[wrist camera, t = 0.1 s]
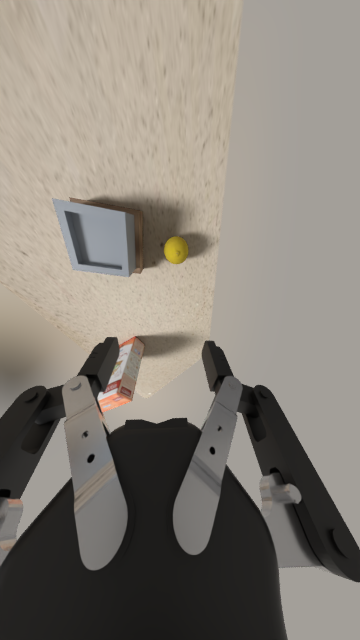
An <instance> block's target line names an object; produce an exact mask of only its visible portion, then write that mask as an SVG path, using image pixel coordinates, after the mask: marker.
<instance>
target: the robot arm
mask: <svg viewBox="0 0 360 640" xmlns="http://www.w3.org/2000/svg"><path fill="white" fill-rule="evenodd" d="M119 353H120V349H119V344H118V340H117V337H107V338H106V339H105V341H104V343H99V344H98V345H97V346H95V347H94V349H93V351H92V352H91V354H90V355H89V358H88V359H87V360H86V362H85V364H84V365H83V367H82V368H81V370H80V372H79V373H78V375H77V376H76V377H73V378H72V379H70V380H68V381H67V382H66V383H65V384H64V385H61V386H57V387H54V388H50V389H46V388H45V387H44V386H35V387H32V388H30V389H28V390H26V391H25V392H23V393H22V394H21V395H20V396H19V397H18V398H17V399H16V400H15V401H14V403H13V404H12V405H11V406H10V407H9V408H8V410H7V411H6V412H5V414H4V415H3V416H2V417H1V418H0V640H288V639H287V634H286V629H285V624H284V618H283V611H282V605H281V596H280V584H279V569H278V568H285V567H311V566H313V567H316V568H319V569H322V570H324V571H327V572H330V573H333V574H336V575H338V576H341V577H344V578H346V579H349V580H352V581H355V582H360V550H359V547H358V545H357V543H356V542H355V540H354V538H353V536H352V534H351V533H350V531H349V529H348V527H347V525H346V524H345V522H344V520H343V518H342V516H341V515H340V513H339V511H338V509H337V508H336V506H335V504H334V502H333V500H332V499H331V497H330V495H329V494H328V492H327V490H326V488H325V486H324V484H323V483H322V481H321V479H320V477H319V475H318V474H317V472H316V470H315V468H314V467H313V465H312V463H311V461H310V459H309V458H308V456H307V454H306V452H305V451H304V449H303V447H302V445H301V443H300V442H299V440H298V438H297V436H296V434H295V433H294V431H293V429H292V427H291V425H290V424H289V422H288V420H287V418H286V417H285V415H284V413H283V411H282V410H281V408H280V406H279V404H278V402H277V400H276V399H275V397H274V395H273V394H272V392H271V391H270V390H269V389H268V388H266V387H265V386H262V385H256V386H255V387H254V388H252V387H249V386H247V385H243V384H241V382H240V381H239V380H238V379H237V378H235V377H234V376H233V373H232V371H231V369H230V366H229V364H228V362H227V359H226V357H225V355H224V352H223V350H222V349H221V348H220V347H217V346H216V345H215V343H214V341H205V343H204V346H203V350H202V360H203V364H204V368H205V371H206V376H207V380H208V384H209V388H210V391H215V398H214V400H213V402H212V405H211V407H210V409H209V411H208V414H207V416H206V418H205V421H204V423H203V425H202V427H201V430H200V429H199V428H197V427H196V426H195V425H193V424H191V423H189V422H187V418H172V419H170V420H167V421H164V422H161V423H158V424H156V423H152V422H149V421H145V420H126V422H125V425H123V426H121V427H119V428H117V429H115V430H114V431H113V432H111V433H110V430H109V428H108V425H107V423H106V421H105V418H104V415H103V412H102V409H101V407H100V404H99V401H98V398H97V397H98V395H99V393H100V392H105V390H106V388H107V385H108V383H109V380H110V378H111V375H112V372H113V370H114V367H115V365H116V362H117V360H118V357H119ZM236 412H240V413H242V415H243V418H244V421H245V424H246V427H247V430H248V433H249V436H250V439H251V442H252V445H253V448H254V451H255V454H256V457H257V460H258V463H259V466H260V469H261V472H262V475H263V477H262V478H261V480H260V493H261V498H262V509H261V512H260V510H259V508H258V507H257V506H256V504H255V503H254V501H253V500H252V499H251V497H250V496H249V495H248V493H247V492H246V490H245V489H244V488H243V487H242V485H241V484H240V482H239V481H238V480H237V478H236V477H235V476H234V474H233V473H232V471H231V470H230V469H229V467H228V466H227V465H226V462H227V457H228V454H229V450H230V445H231V442H232V438H233V433H234V429H235V426H236V422H237V415H236ZM63 417H66V418H67V419H66V421H65V422H64V429H65V435H66V442H67V448H68V454H69V461H70V468H71V474H72V477H71V478H70V480H69V481H68V482H67V483H66V484H65V485H64V486H63V488H62V489H61V490H60V491H59V492H58V493H57V494H56V496H55V497H54V498H53V499H52V500H51V501H50V503H49V504H48V505H47V506H46V507H45V508H44V510H43V511H42V512H41V513H40V514H39V515H38V516H37V518H36V519H35V520H34V521H33V522H32V523H31V524H30V526H29V527H28V528H27V529H26V530H25V532H24V533H23V534H22V535H21V536H20V538H19V539H18V540H17V539H16V532H17V527H18V524H19V522H20V518H21V516H22V512H23V503H22V501H21V500H20V498H21V496H22V494H23V492H24V490H25V488H26V486H27V484H28V482H29V480H30V478H31V476H32V474H33V472H34V470H35V468H36V466H37V464H38V462H39V460H40V458H41V456H42V454H43V452H44V450H45V448H46V447H47V445H48V443H49V441H50V439H51V437H52V435H53V433H54V431H55V429H56V427H57V425H58V423H59V421H60V419H61V418H63Z"/></svg>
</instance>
